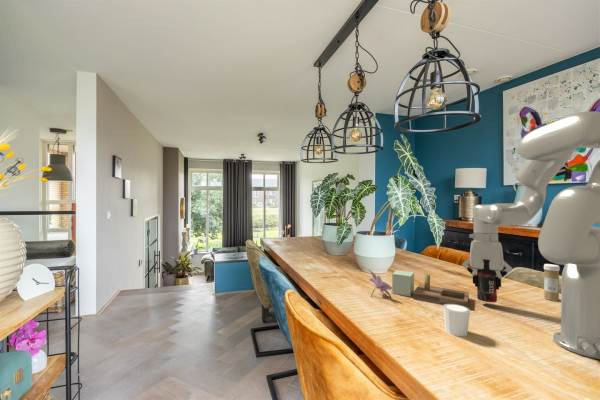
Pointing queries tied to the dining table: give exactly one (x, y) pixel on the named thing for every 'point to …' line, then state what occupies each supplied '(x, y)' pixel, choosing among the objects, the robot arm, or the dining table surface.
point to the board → (440, 294)
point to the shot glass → (456, 319)
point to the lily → (380, 283)
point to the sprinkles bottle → (551, 282)
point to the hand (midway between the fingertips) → (486, 286)
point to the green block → (403, 283)
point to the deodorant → (486, 283)
